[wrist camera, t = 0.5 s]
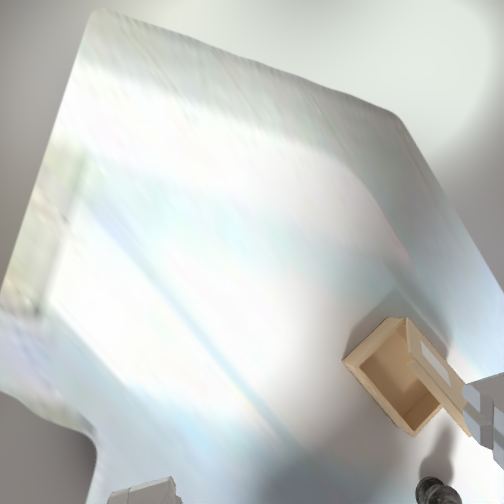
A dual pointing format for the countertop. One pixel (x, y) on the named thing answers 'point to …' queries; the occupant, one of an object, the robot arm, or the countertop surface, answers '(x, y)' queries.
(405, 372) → the mailer box
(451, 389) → the lid
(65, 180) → the countertop surface
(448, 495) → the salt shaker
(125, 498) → the robot arm
